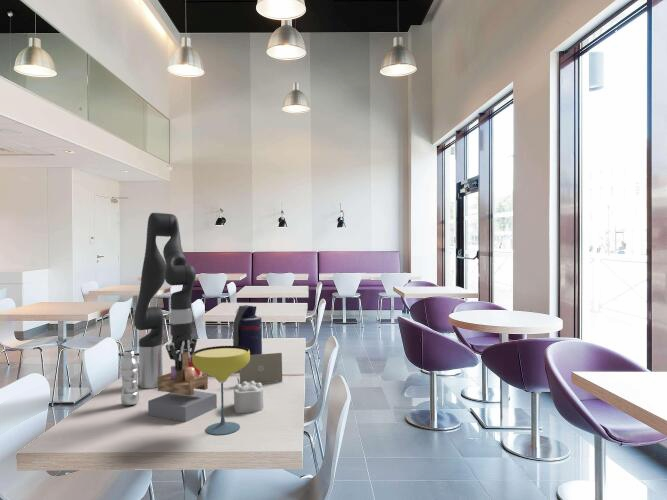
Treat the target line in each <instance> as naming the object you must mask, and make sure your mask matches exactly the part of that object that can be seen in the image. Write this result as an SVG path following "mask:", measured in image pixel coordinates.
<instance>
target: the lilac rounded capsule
mask: <svg viewBox="0 0 667 500" xmlns="http://www.w3.org/2000/svg"><path fill="white" fill-rule="evenodd" d="M170 373H171V380H176V369H175V365H171V366H170Z"/></svg>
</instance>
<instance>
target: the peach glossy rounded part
mask: <svg viewBox="0 0 667 500" xmlns="http://www.w3.org/2000/svg"><path fill="white" fill-rule="evenodd" d="M193 379H195V369H194V367H187V368H185V382H188V381H190V380H193Z"/></svg>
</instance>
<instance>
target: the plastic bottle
mask: <svg viewBox="0 0 667 500" xmlns="http://www.w3.org/2000/svg"><path fill="white" fill-rule="evenodd" d="M135 356H136V355H135V350H132V349H129V350H125V351H123V359H122V361H121V362H120V365H119V367H120V374H121V394H120V402H121V404H122V405H123V406H133V405H136V404H138V403H139V401H140V393H139V392H140V391H139V386H138V363H139V362H138V361H137V359H136V358H135Z"/></svg>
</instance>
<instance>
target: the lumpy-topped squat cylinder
mask: <svg viewBox="0 0 667 500" xmlns="http://www.w3.org/2000/svg"><path fill="white" fill-rule="evenodd" d="M233 403H234V404H233V405H234V406H233V409H234V412H235V413H237V414H246V413H258V412H261V411H263V410H264V387H263V384H261V383H255V382H254V381H251V382H249V383H247V382H246V381H244V382H243V383H242V384H239V383H236V384H235V386H234V388H233Z"/></svg>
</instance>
